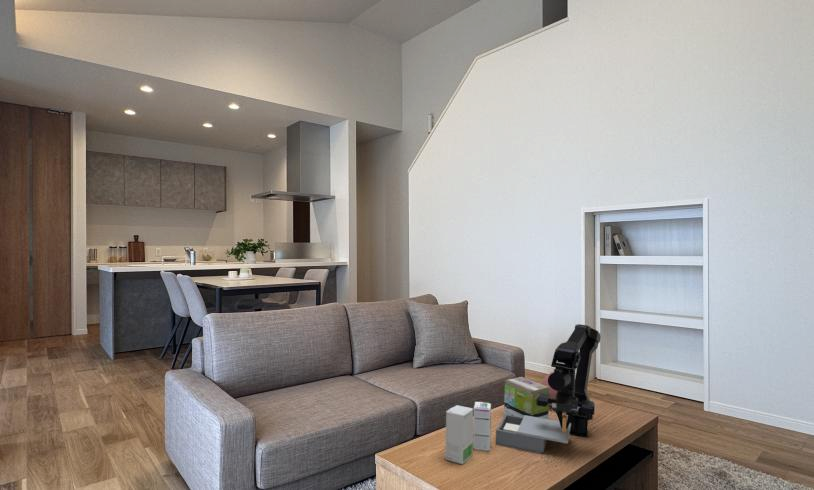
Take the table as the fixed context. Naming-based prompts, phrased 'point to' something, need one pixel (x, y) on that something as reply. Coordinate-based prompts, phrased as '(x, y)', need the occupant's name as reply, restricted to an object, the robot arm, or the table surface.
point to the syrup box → (482, 426)
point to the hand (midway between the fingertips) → (564, 428)
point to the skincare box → (459, 434)
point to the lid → (545, 429)
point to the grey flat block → (517, 436)
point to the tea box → (524, 398)
